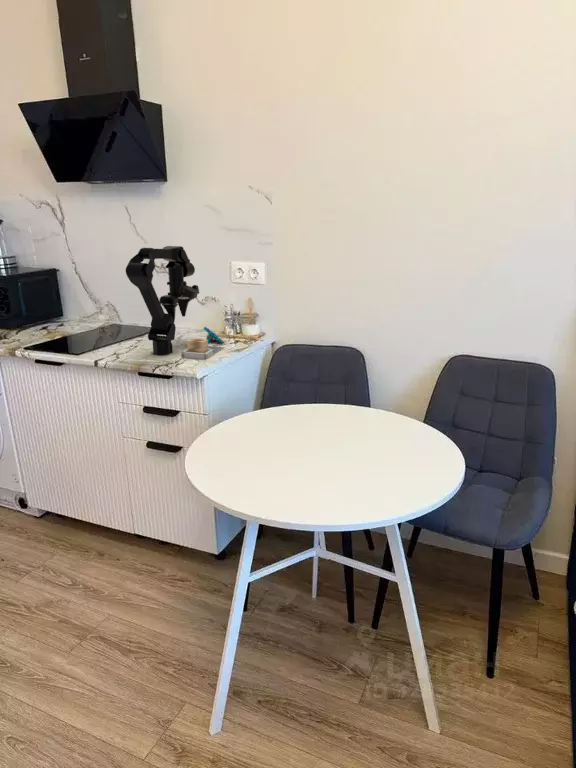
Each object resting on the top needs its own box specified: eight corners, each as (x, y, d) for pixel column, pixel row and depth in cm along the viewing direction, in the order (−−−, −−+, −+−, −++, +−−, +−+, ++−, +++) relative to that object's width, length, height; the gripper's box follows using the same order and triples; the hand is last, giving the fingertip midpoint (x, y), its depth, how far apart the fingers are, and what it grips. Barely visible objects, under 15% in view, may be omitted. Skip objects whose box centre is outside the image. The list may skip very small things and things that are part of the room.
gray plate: (205, 362, 202) (204, 354, 201) (180, 360, 204) (179, 352, 204) (225, 349, 220) (225, 342, 219) (202, 348, 223) (202, 340, 222)
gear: (226, 342, 226) (208, 326, 222) (217, 353, 225) (199, 337, 222) (220, 339, 236) (202, 324, 232) (211, 350, 236) (193, 335, 232)
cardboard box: (188, 356, 207) (187, 340, 205) (192, 353, 210) (191, 337, 208) (204, 357, 205) (203, 341, 203) (208, 355, 209) (207, 339, 207)
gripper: (184, 282, 204) (186, 324, 209) (205, 277, 221) (206, 315, 226) (157, 281, 207) (160, 322, 212) (179, 276, 224) (181, 313, 229)
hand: (178, 318), depth 220 cm, fingers open, 9 cm apart
